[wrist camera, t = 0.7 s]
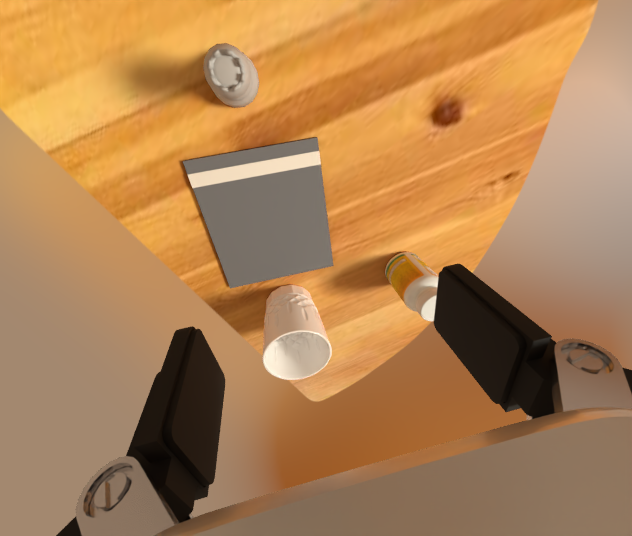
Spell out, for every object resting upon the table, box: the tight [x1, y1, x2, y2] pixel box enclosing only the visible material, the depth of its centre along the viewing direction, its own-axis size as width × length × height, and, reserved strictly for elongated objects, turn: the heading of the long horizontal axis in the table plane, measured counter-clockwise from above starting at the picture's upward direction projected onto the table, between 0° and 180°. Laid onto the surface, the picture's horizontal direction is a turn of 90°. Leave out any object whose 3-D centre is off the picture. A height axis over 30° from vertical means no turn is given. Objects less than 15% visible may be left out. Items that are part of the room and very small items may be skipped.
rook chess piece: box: [203, 43, 259, 108], centre depth 22 cm, size 4×4×8 cm
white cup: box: [263, 285, 332, 380], centre depth 36 cm, size 8×8×10 cm
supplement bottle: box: [385, 252, 439, 321], centre depth 36 cm, size 5×5×10 cm
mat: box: [183, 137, 333, 288], centre depth 33 cm, size 16×14×1 cm
